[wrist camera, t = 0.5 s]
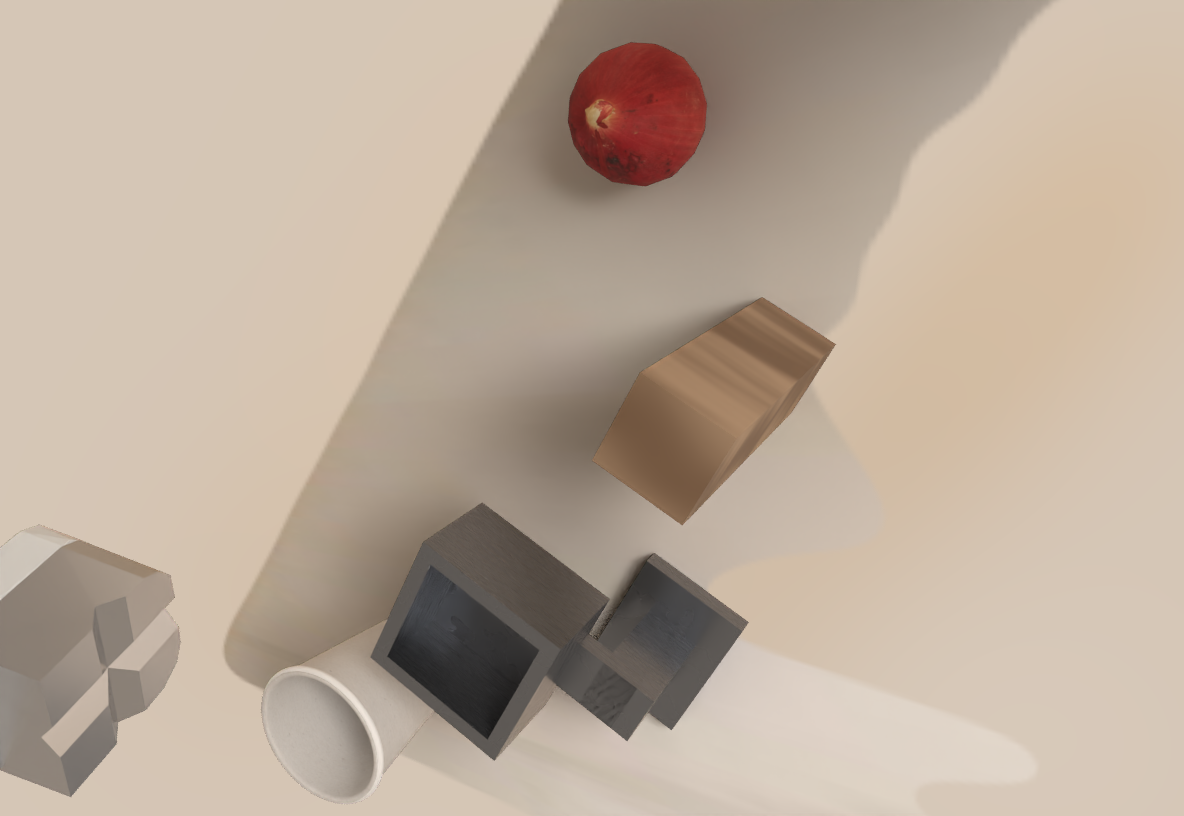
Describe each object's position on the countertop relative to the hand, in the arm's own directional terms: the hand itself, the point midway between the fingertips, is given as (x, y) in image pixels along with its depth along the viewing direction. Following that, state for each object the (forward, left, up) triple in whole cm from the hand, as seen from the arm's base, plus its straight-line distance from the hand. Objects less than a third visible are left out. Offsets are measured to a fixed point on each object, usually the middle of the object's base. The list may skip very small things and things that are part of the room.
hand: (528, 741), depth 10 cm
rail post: (+9, -4, -37) cm, 38 cm away
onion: (+2, -14, -37) cm, 40 cm away
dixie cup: (+38, -13, -37) cm, 55 cm away
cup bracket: (+26, -5, -37) cm, 45 cm away
